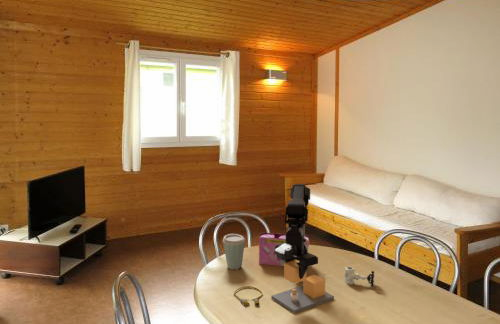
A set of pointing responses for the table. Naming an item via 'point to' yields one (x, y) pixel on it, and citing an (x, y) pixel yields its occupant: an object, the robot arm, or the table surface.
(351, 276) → the valve
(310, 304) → the board
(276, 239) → the gum box
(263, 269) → the table surface
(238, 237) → the disposable coffee cup
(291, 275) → the matte orange cube
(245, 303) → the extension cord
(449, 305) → the table surface
